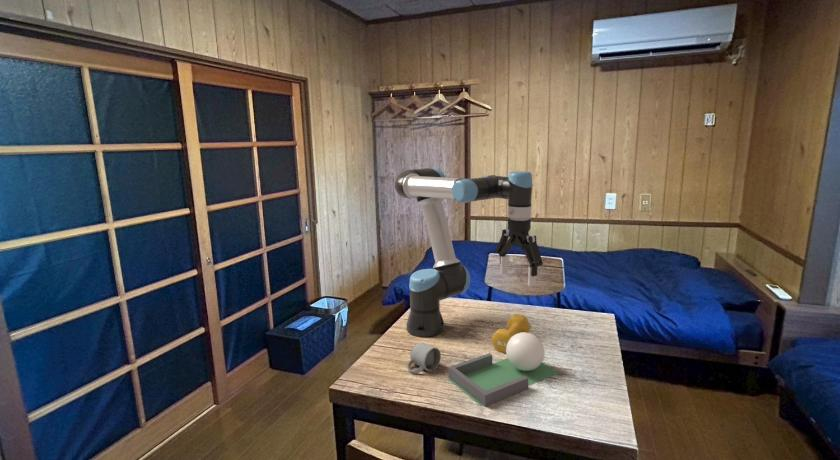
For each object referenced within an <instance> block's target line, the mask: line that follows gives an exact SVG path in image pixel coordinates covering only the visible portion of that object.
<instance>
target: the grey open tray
mask: <svg viewBox="0 0 840 460" xmlns="http://www.w3.org/2000/svg"><path fill="white" fill-rule="evenodd" d="M492 364H493V354H491V353H486V354H483V355H480V356H477V357H474V358H471V359H468V360H466V361H462V362H460V363H457V364H454V365H451V366H448V367H447V368H448V379H451V380H452V381H454V382H455V383H456V384H457V385H459V386H460V387H461V388H462V389H464V390H465V391H466V392H467V393H469V394H470V395H471V396H472V397H474V398H475V399H476V400H477V401H479V402H480V403H481V404H482V405H481V406H484V407H487V406H490V405H492V404H494V403H497V402H500V401H502V400H504V399H506V398H509V397H511V396H514V395H516V394H517V393H519V394H520V393H521V392H523V391H526V390H528V389H529V386H528V377H526V376H523V377H520V378H518V379H515V380H513V381H510V382H507V383H505V384H502V385H500V386H497V387H495V388H492V389H490V390H487V391H485V390H484V389H482V388H481V387H480V386H478V385H477V384H476V383H474V382H473V381H472V380H470V379H469V378H468V377H466V376H465V374H468V373H471V372H474V371H476V370H479V369H482V368H485V367H487V366H490V365H492Z"/></svg>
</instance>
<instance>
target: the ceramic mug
mask: <svg viewBox="0 0 840 460" xmlns="http://www.w3.org/2000/svg"><path fill="white" fill-rule="evenodd" d="M409 355H410V360H408V363H407V366H406V369H407V371H408V372H409V373H410V374H413V375H416V374H419V373H421V372H422V371H424V370H425V371H427V372H432V371H433V370H436V369H437V368H438V366H439V365H440V362H441V358H442V357H441V356H442V355H441V350H440V349H439V348H438V347H435V346H432V345H430V344H427V343H424V342H417V343H415V344H414V345H413V347H411V350H410V354H409ZM413 364H415V365H416V366H418V368H416V369H411V366H412V365H413ZM429 367H430V368H429Z"/></svg>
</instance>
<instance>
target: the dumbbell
mask: <svg viewBox="0 0 840 460" xmlns="http://www.w3.org/2000/svg"><path fill="white" fill-rule="evenodd" d="M506 327H507V329H506V328H498V329H497V330H496V331H495V332H494V334H493V335H492V337H491V343H492V345H493V348H494V349H495V351H497V352H499V353H503V354H506V347H507V343H508V341H509V340H510V338H511V337H512V336H514V335H515V334H518V333H522V332H526V333H530V330H531V329H532V328H531V327H532V326H531V324H530V321H529V319H528V318H527V316H525V315H522V314H512V315H511V316H510V318H509V319H508V321H507V322H506Z"/></svg>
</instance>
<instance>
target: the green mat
mask: <svg viewBox="0 0 840 460" xmlns="http://www.w3.org/2000/svg"><path fill="white" fill-rule="evenodd" d="M558 374H560V371H558V370H557V369H555V368H552V366H549V365H547V364H546V363H544V362H542V363H541V364H540V365H539V366H538V367H537V368H536V369H534V370H531V371H522V370H519V369H517V368H515V367H514V366H513V365H512V364H511V363H510V362H509V360H508V358H504V359H501V360H498V361H495V362H494V363H493V362H492V365H490V366H487V367H485V368H482V369H479V370H476V371H474V372H471V373H468V374H465V376H466V377H468V378H469V379H470V380H472V381H473V382H474V383H476V384H477V385H478V386H480V387H481V388H482V389H484V390H485V391H487V390H490V389H492V388H495V387H497V386H500V385H502V384H505V383H507V382H510V381H513V380H515V379H518V378H520V377H523V376H526V377H528V387H529V386H531V385H534V384H536V383H539V382H541V381H544V380H546V379H548V378H549V379H550V378H551V377H553V376H555V375H558ZM448 381H449V382H450V383H452V384H453V385H454V386H455V387H456V388H458V389H459V390H460V391H462V392H463V393H464V394H465V395H466V396H468V397H469V398H470V399H472V400H473V401H474V402H475V403H476V404H478V405H479V406H480V407H481V406H483V405H482V404H481V403H480V402H479V401H477V400H476V399H475V398H474V397H472V396H471V395H470V394H469V393H467V392H466V391H465V390H464V389H462V388H461V387H460V386H459V385H457V384H456V383H455V382H454V381H452V380H451V379H450V378H448Z"/></svg>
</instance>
